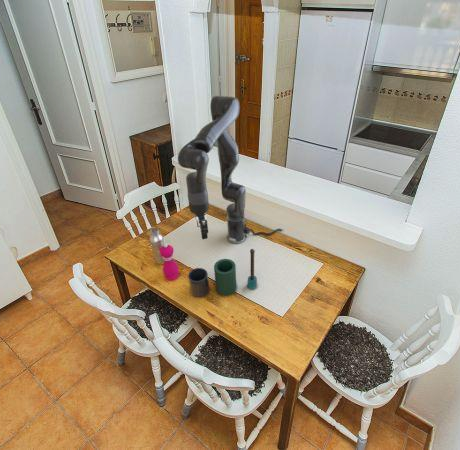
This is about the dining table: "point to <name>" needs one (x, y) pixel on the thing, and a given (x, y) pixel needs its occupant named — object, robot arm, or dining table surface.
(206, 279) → the pot
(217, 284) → the green jar
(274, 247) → the dining table surface
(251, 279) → the bottle brush
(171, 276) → the pepper mill
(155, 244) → the silver metal bottle
